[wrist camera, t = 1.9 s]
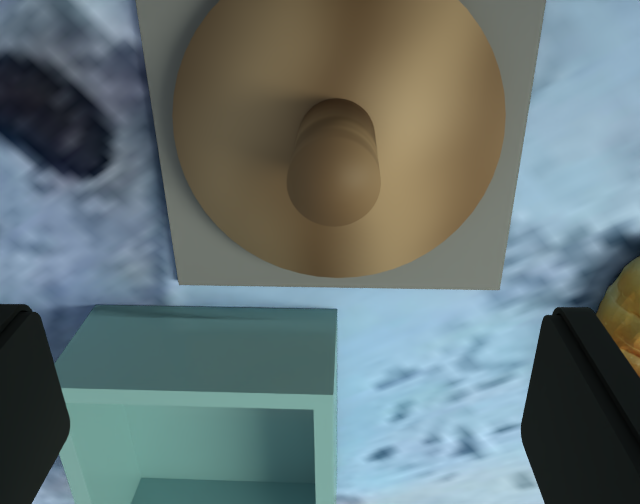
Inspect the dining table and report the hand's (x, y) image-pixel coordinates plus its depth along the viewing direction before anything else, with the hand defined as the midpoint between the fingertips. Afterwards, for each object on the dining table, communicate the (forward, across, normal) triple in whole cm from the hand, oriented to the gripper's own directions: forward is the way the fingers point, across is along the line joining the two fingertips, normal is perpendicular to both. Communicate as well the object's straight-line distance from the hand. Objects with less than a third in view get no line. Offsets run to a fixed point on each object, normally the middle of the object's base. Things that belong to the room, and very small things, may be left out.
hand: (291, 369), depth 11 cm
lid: (+14, -1, 0) cm, 15 cm away
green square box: (+15, +5, +15) cm, 22 cm away
